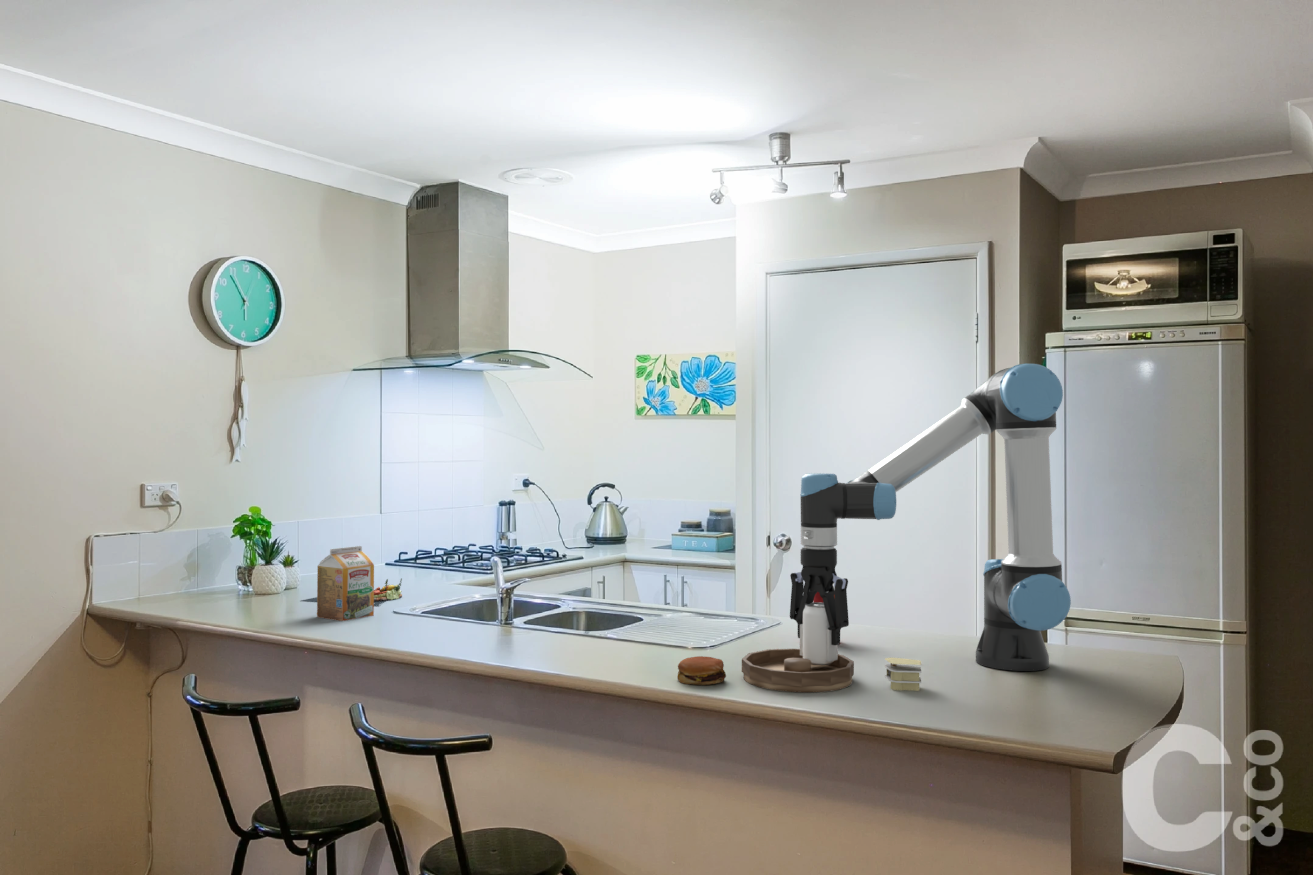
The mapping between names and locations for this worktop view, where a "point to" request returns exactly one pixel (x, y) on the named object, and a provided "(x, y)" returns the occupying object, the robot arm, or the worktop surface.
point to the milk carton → (345, 585)
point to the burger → (701, 671)
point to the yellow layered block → (903, 674)
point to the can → (815, 633)
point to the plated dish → (379, 594)
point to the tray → (795, 671)
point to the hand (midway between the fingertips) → (818, 657)
